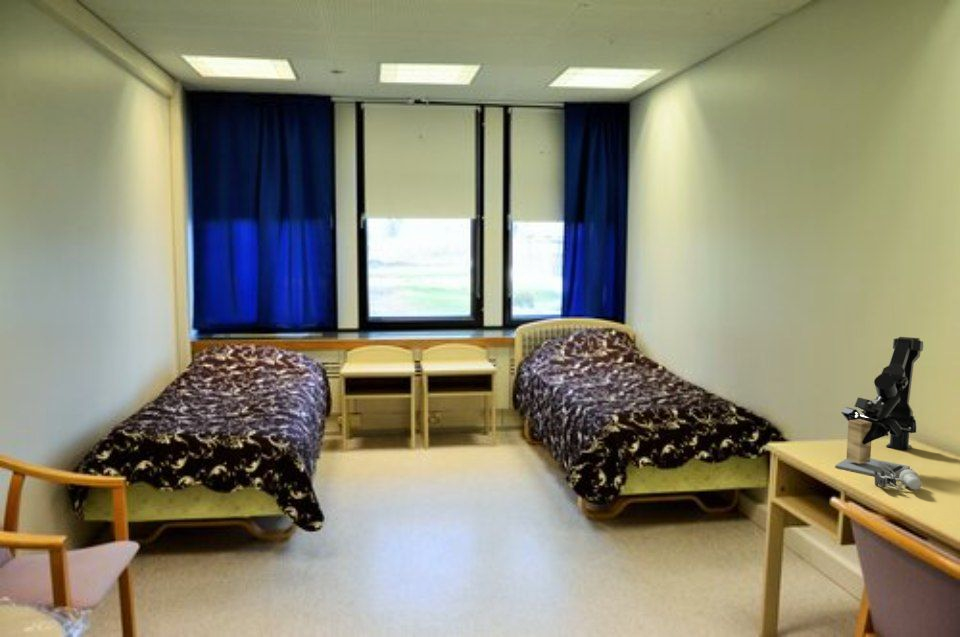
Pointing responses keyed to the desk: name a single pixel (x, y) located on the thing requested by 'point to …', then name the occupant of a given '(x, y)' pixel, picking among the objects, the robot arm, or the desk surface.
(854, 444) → the upright wooden block
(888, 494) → the desk surface
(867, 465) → the slate mat
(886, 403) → the robot arm
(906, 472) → the clip-on lamp
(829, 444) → the desk surface
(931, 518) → the desk surface
